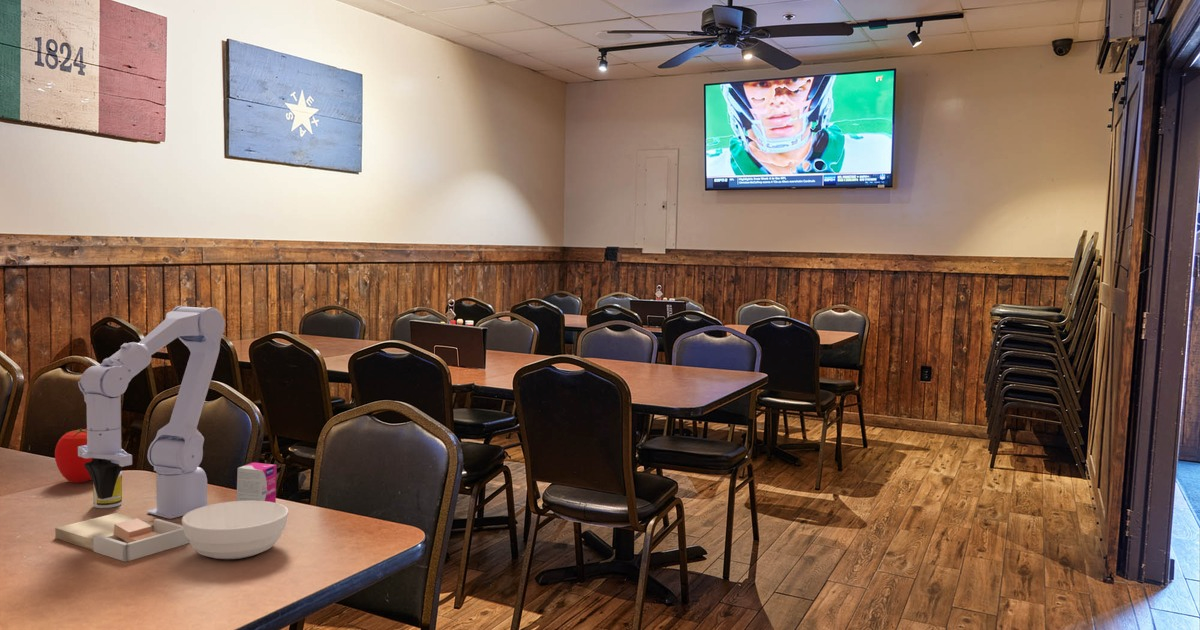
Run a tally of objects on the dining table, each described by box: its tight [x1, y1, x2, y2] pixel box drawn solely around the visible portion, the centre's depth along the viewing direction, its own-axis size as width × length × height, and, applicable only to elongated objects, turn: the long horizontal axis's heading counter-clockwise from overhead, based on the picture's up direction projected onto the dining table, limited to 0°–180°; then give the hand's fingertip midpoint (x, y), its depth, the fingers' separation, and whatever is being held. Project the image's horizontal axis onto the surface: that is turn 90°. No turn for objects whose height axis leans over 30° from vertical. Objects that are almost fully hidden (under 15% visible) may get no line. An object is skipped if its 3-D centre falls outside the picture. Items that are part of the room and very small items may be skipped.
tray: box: [93, 518, 190, 563], centre depth 163 cm, size 13×10×3 cm
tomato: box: [54, 428, 93, 484], centre depth 206 cm, size 11×11×13 cm
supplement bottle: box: [92, 471, 123, 509], centre depth 188 cm, size 5×5×10 cm
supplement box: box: [236, 462, 278, 503], centre depth 181 cm, size 6×6×12 cm
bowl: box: [181, 500, 289, 560], centre depth 161 cm, size 18×18×7 cm
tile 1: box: [114, 517, 152, 542], centre depth 164 cm, size 4×4×2 cm
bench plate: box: [54, 512, 154, 551], centre depth 168 cm, size 12×13×2 cm
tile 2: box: [128, 531, 159, 543], centre depth 162 cm, size 4×4×2 cm
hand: (105, 497), depth 168 cm, fingers closed
